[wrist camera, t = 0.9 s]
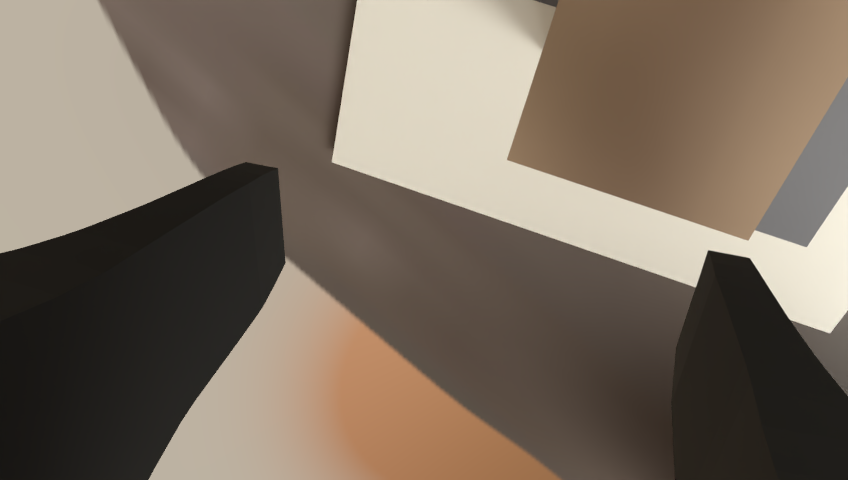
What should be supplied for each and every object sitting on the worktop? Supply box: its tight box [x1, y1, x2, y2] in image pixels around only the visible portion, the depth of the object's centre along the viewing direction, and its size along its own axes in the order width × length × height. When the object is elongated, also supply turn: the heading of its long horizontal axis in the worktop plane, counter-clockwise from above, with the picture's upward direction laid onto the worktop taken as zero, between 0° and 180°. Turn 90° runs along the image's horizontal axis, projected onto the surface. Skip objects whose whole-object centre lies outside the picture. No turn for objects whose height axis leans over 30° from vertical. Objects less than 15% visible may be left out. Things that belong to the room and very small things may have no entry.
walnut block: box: [507, 0, 848, 241], centre depth 16 cm, size 5×5×6 cm
